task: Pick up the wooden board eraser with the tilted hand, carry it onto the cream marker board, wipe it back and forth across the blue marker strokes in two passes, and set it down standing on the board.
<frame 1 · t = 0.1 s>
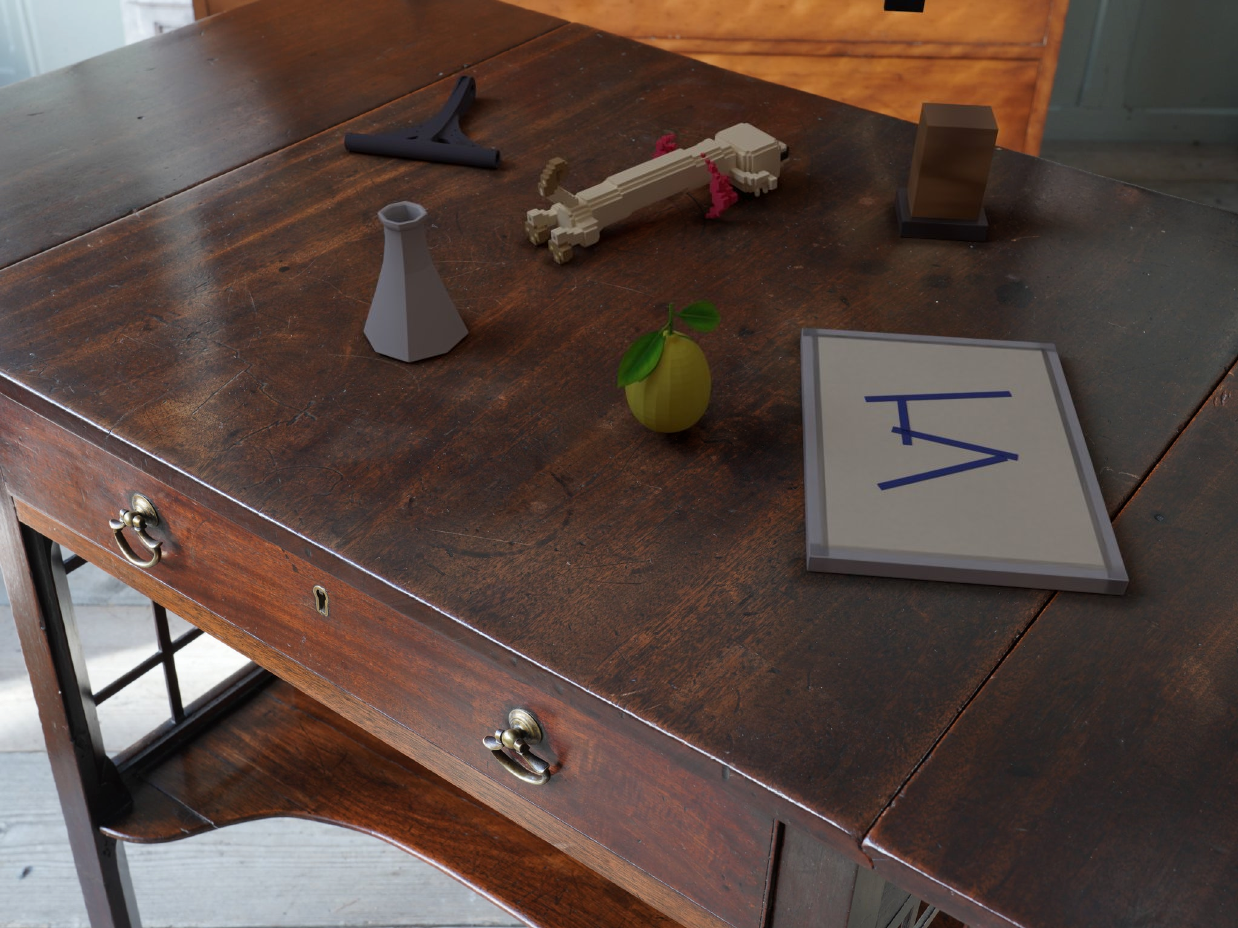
flask: (416, 337, 89), on the table
lemon: (666, 431, 81), on the table
board: (941, 452, 79), on the table
bracket: (447, 131, 116), on the table
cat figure: (667, 214, 104), on the table
eraser: (938, 222, 103), on the table
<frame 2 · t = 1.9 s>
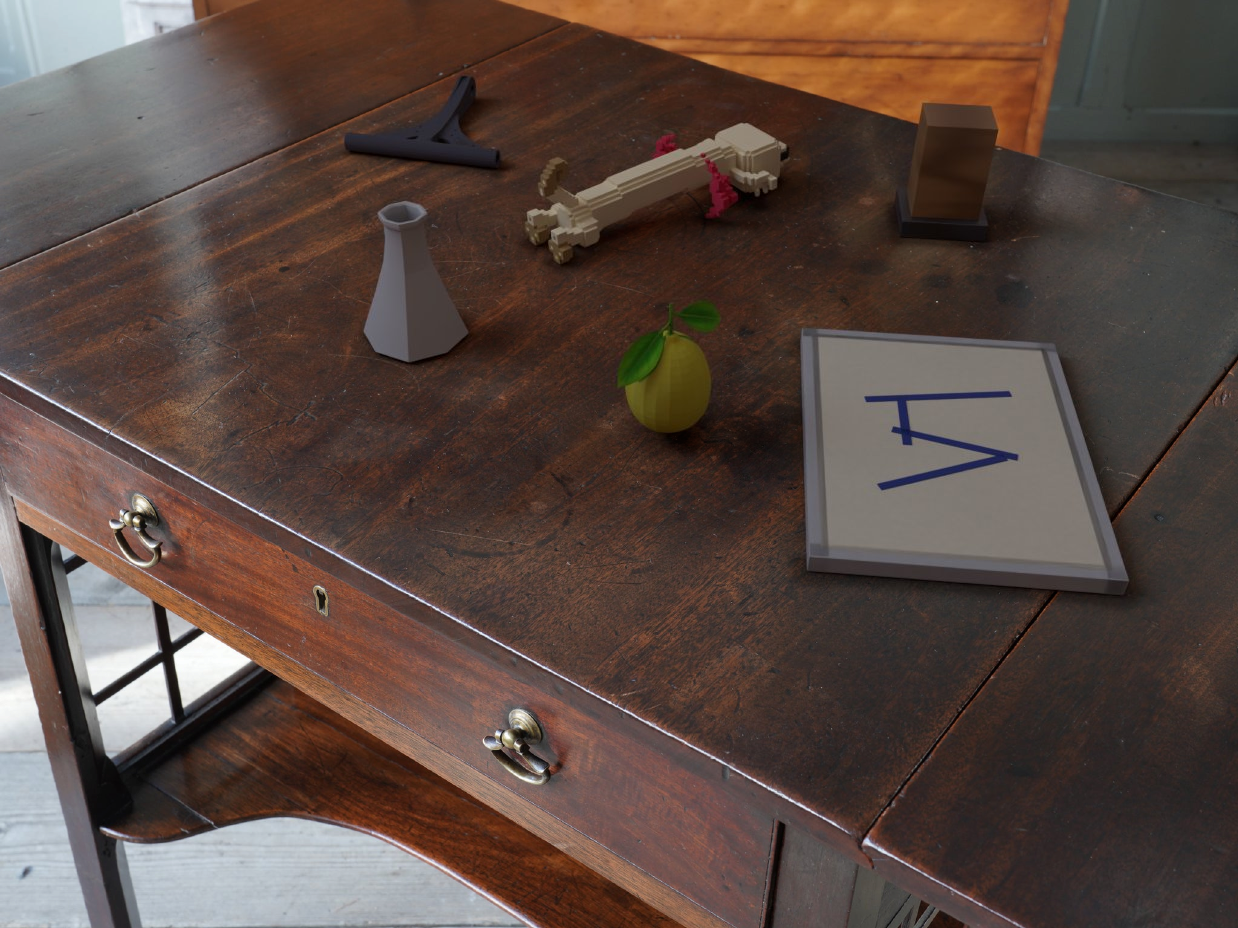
nothing on the table moved.
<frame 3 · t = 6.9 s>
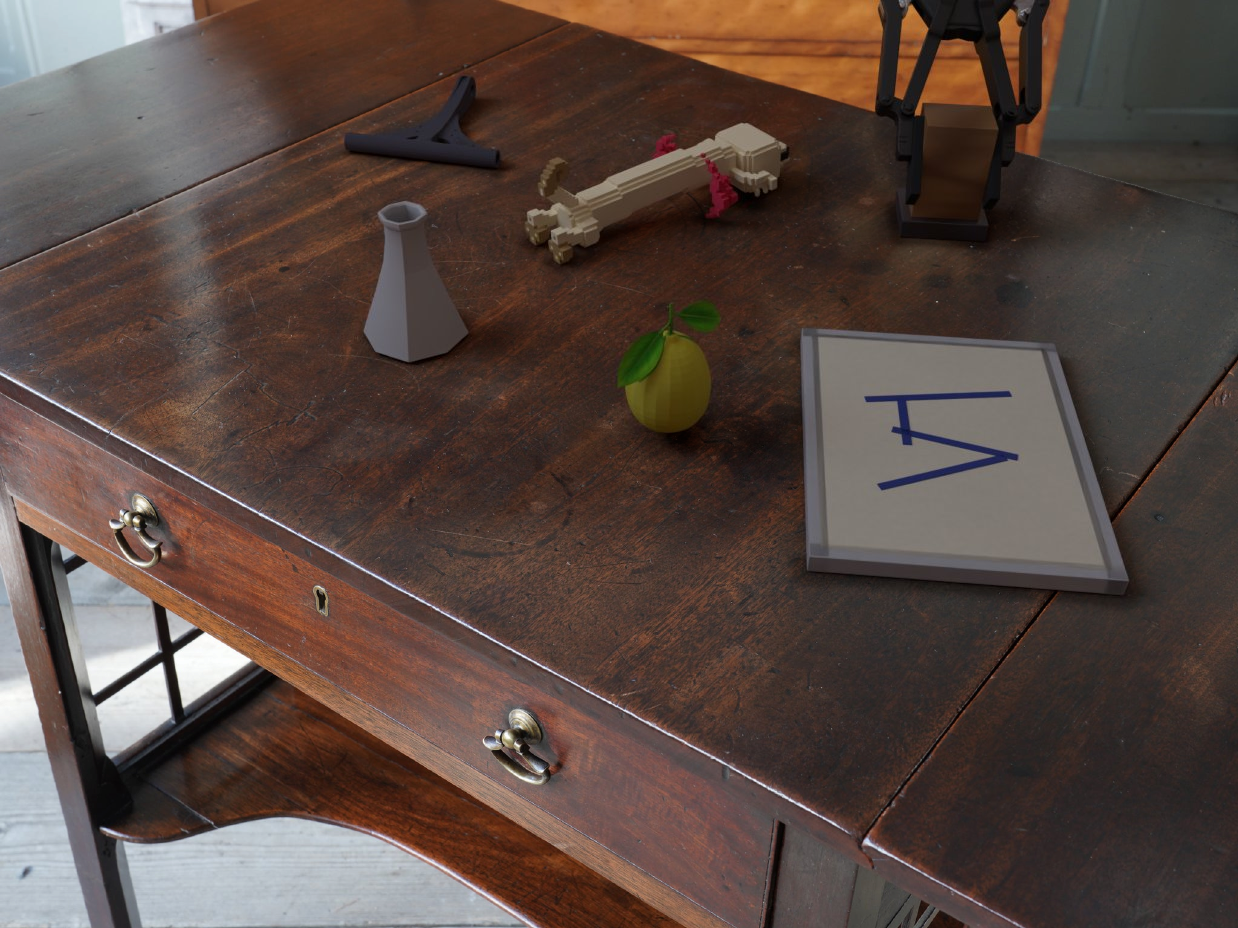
hand: (951, 201, 98), 4 cm above the table, tool tilted 45°, fingers closed on eraser, 5 cm apart
eraser: (938, 222, 103), on the table, touching gripper
everything else where it was.
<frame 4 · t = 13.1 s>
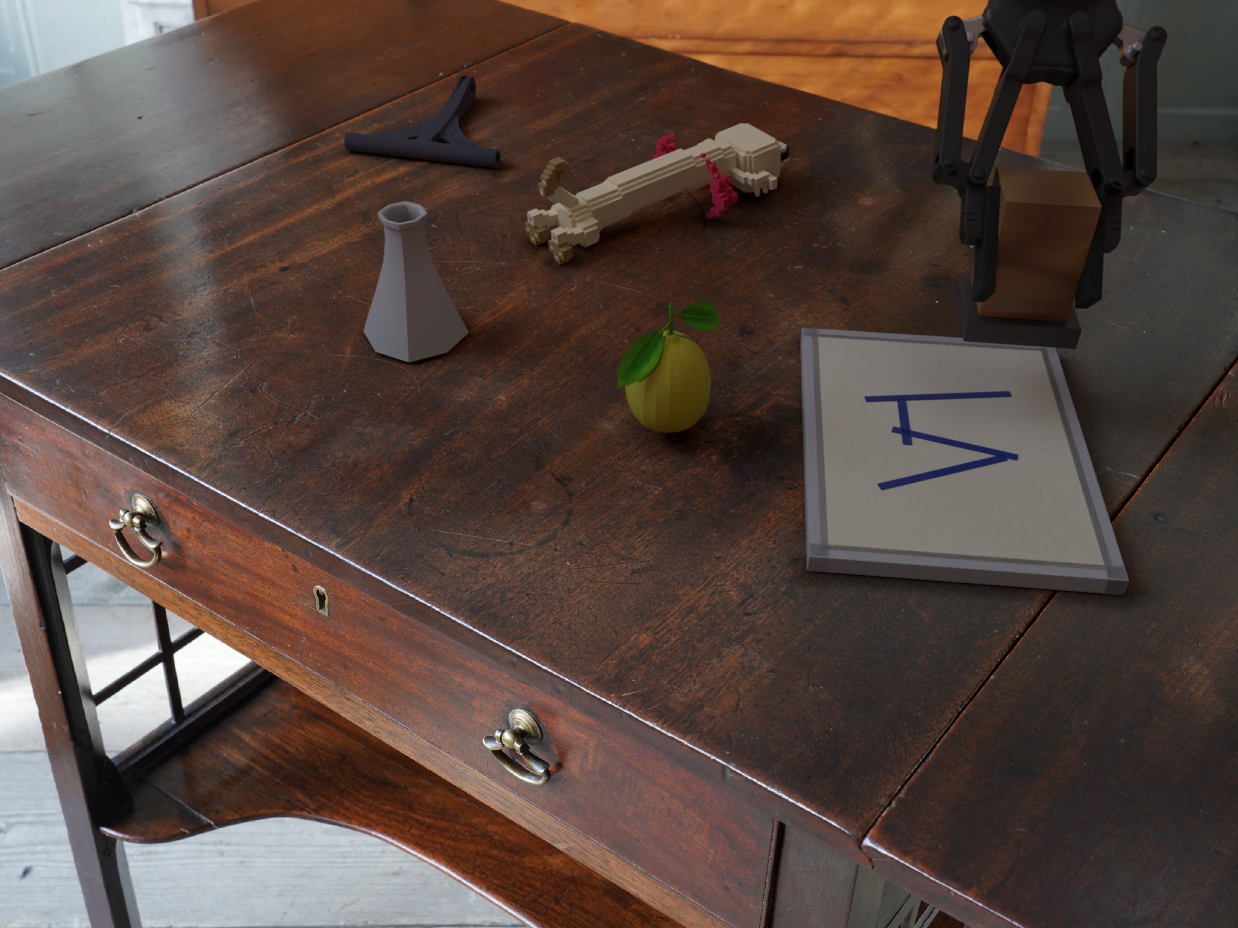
hand: (1035, 299, 74), 11 cm above the table, tool tilted 45°, fingers closed on eraser, 5 cm apart
eraser: (1012, 319, 79), point 7 cm above the table, touching gripper
everything else where it was.
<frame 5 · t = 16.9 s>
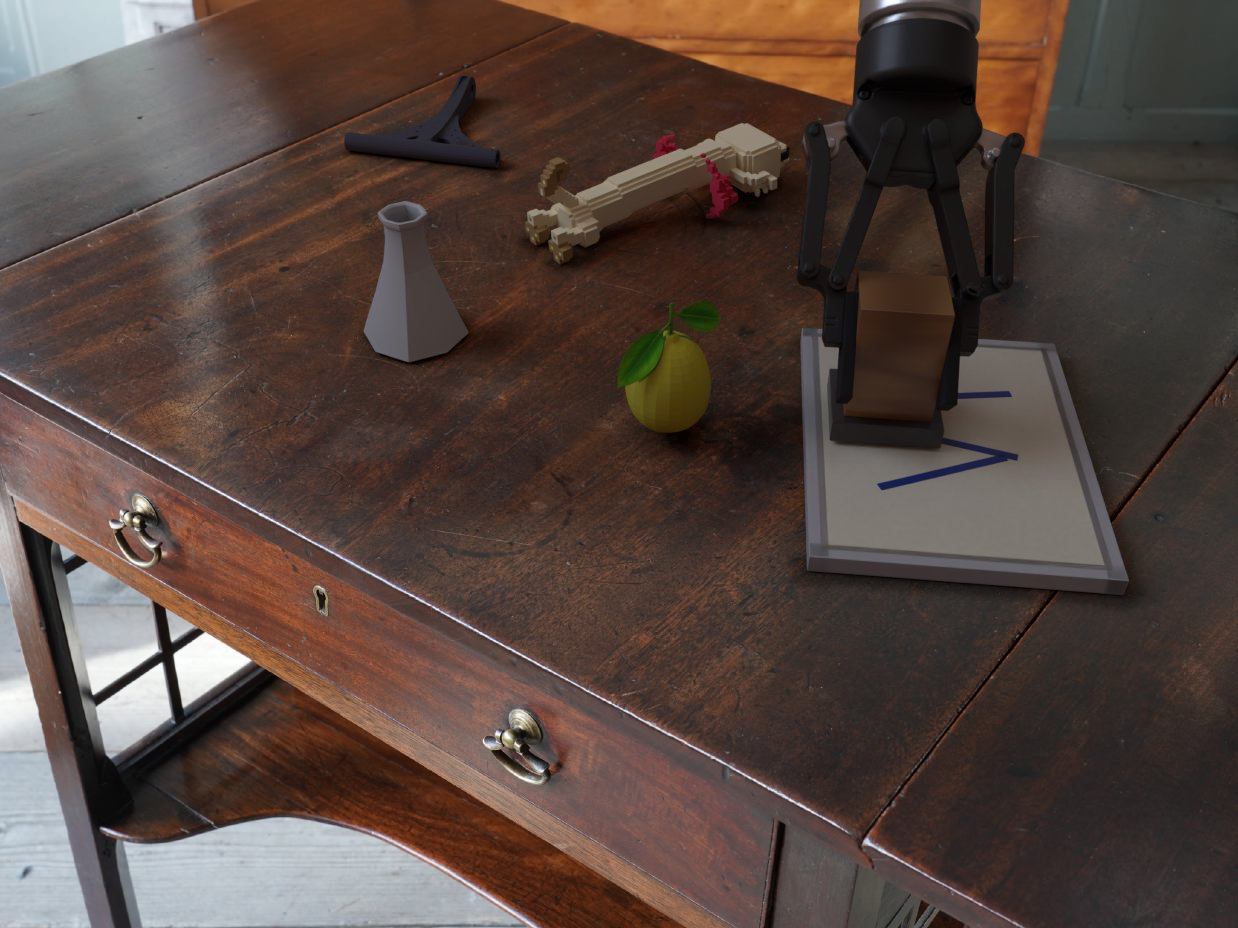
hand: (895, 403, 75), 5 cm above the table, tool tilted 45°, fingers closed on eraser, 5 cm apart
eraser: (881, 416, 80), point 1 cm above the table, touching gripper
everything else where it was.
when the fingers open (5 cm above the table, at t = 19.7 s): eraser stays where it is, resting on board.
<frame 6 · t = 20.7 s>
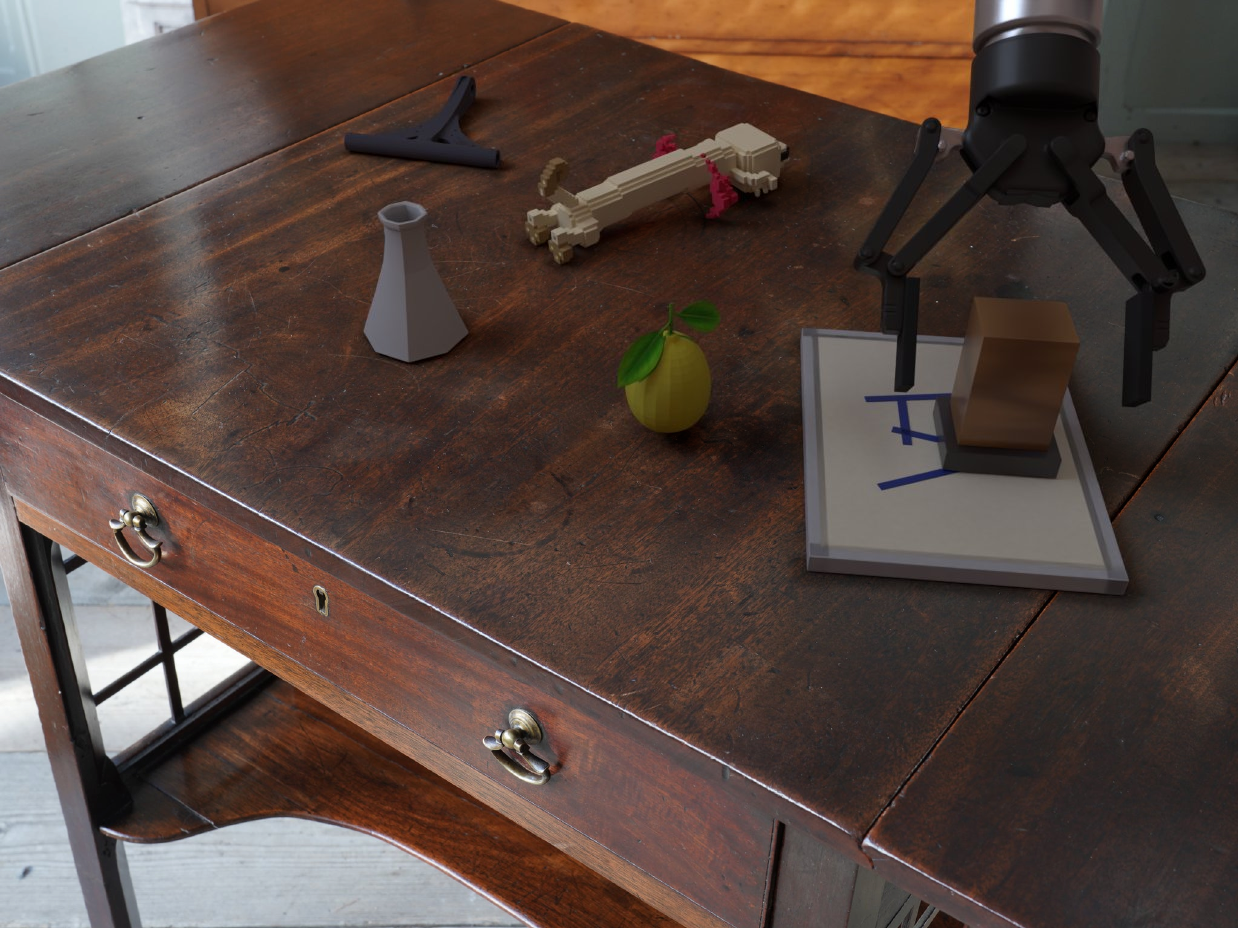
hand: (1019, 397, 73), 7 cm above the table, tool tilted 45°, fingers open, 13 cm apart
eraser: (992, 445, 78), point 1 cm above the table, touching board
everything else where it was.
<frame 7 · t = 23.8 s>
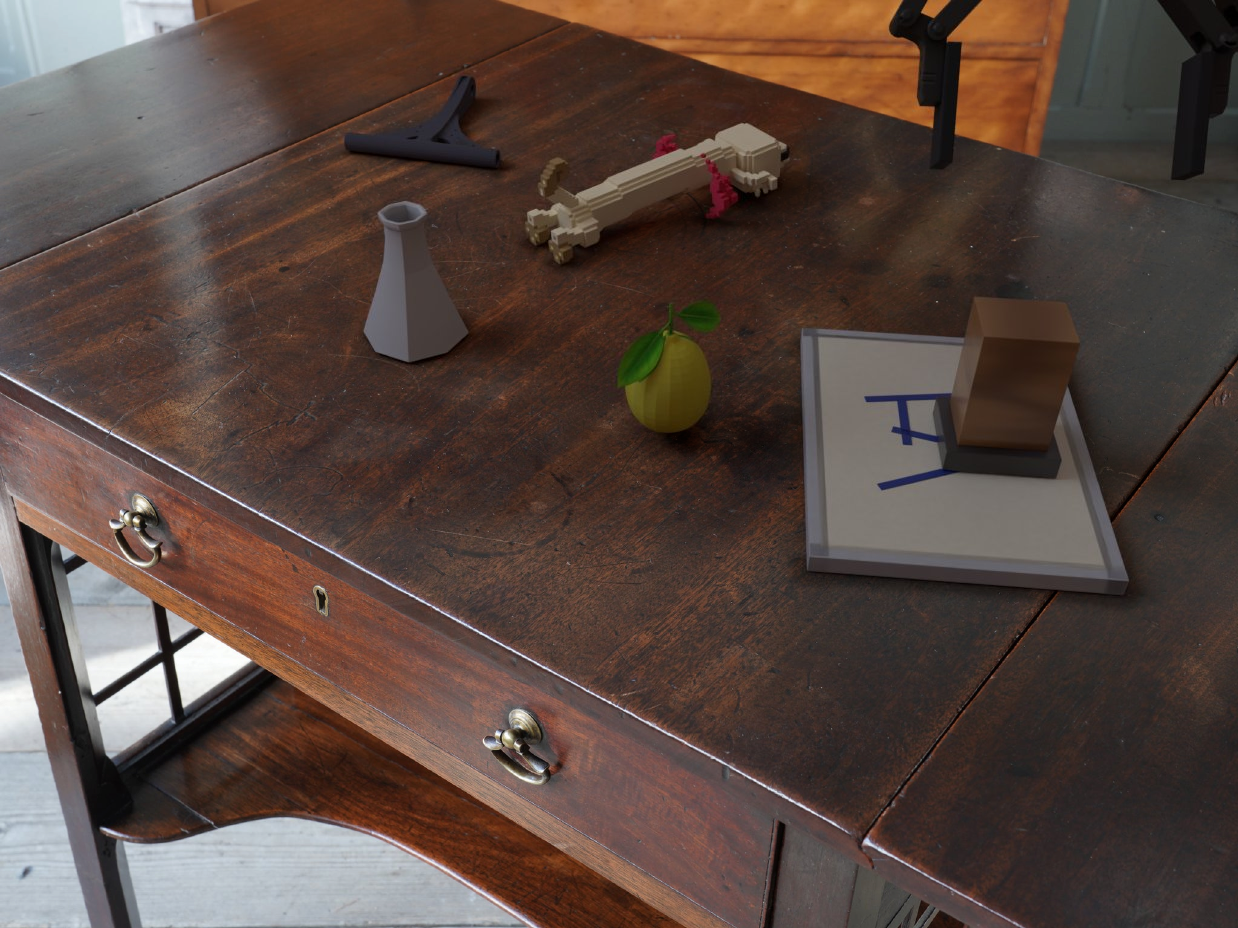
hand: (1063, 172, 69), 19 cm above the table, tool tilted 35°, fingers open, 13 cm apart
nothing on the table moved.
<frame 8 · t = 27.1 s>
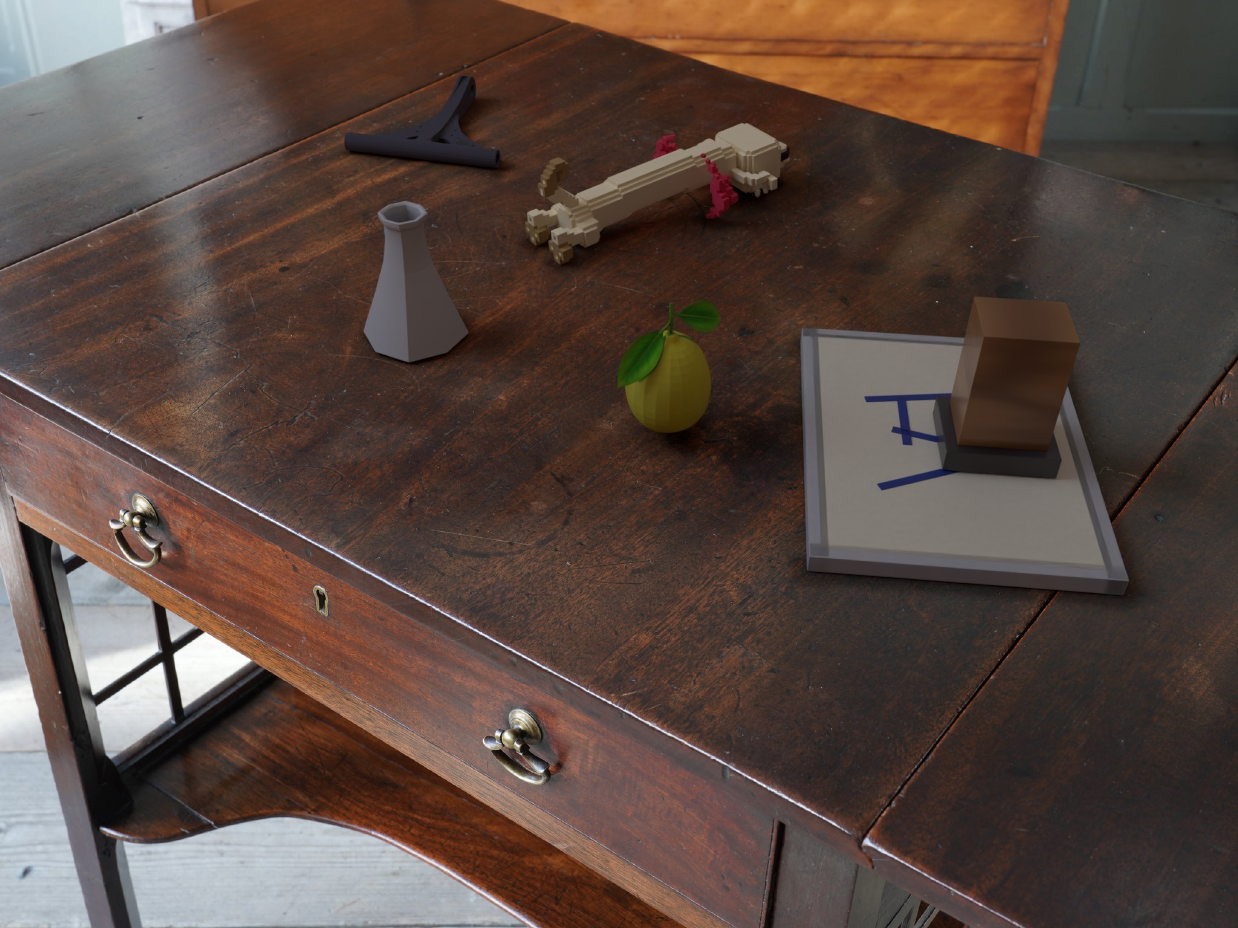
nothing on the table moved.
at the end: eraser inside the target area on the board (2.9 cm from its centre), point 1.3 cm above the board's base; eraser tilted 1°; eraser moved 32.0 cm from its start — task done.
